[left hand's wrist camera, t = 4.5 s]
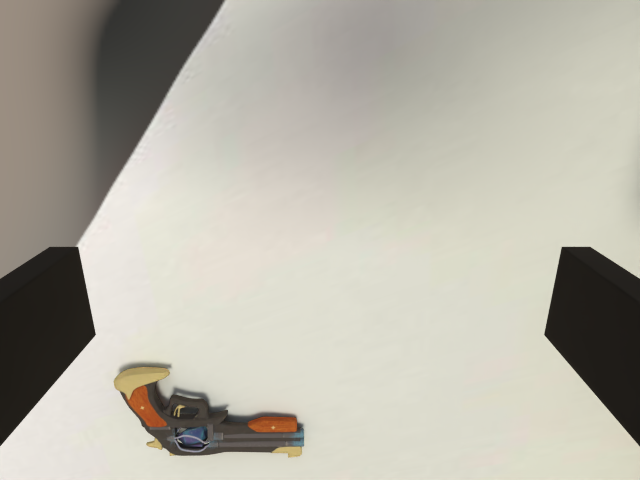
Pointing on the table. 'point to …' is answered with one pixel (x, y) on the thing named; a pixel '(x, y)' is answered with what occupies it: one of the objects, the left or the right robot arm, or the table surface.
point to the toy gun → (202, 422)
